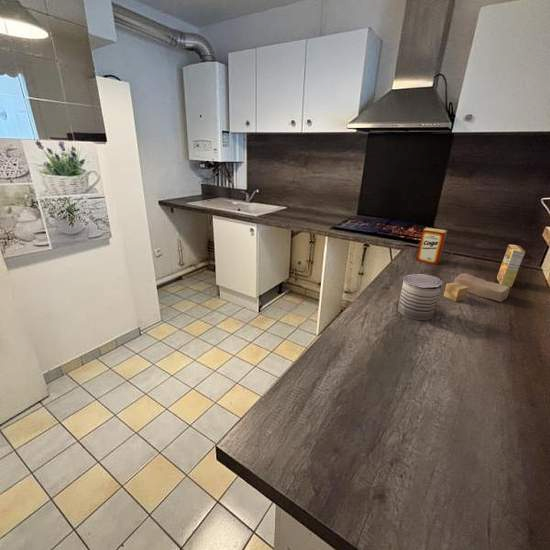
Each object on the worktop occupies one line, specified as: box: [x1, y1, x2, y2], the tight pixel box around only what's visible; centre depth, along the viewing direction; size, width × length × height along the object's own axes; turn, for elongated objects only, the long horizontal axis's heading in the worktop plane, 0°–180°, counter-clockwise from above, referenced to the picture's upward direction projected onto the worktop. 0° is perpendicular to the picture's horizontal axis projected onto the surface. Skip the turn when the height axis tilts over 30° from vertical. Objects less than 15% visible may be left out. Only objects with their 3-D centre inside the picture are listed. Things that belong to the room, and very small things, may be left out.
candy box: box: [496, 244, 526, 288], centre depth 119 cm, size 9×4×15 cm, turn 153°
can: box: [397, 273, 445, 321], centre depth 95 cm, size 11×11×12 cm
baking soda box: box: [415, 227, 448, 266], centre depth 142 cm, size 10×6×16 cm
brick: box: [453, 272, 511, 303], centre depth 112 cm, size 17×8×5 cm, turn 39°
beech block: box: [443, 281, 469, 303], centre depth 107 cm, size 5×5×5 cm
